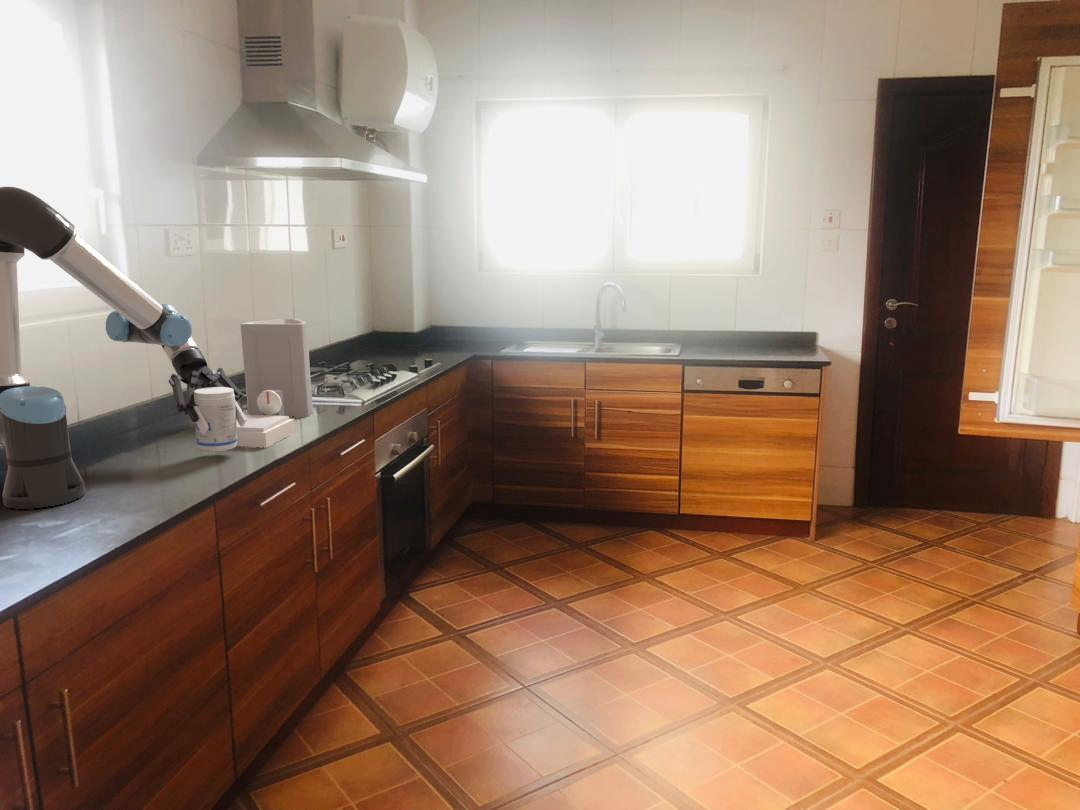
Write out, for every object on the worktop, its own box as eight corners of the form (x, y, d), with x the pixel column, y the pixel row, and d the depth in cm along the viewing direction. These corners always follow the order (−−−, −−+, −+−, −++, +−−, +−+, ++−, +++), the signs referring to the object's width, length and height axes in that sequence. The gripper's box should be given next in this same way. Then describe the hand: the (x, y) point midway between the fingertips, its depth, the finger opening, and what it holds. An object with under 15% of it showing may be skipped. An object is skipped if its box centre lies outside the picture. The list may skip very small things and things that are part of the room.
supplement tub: (188, 451, 205) (183, 392, 202) (214, 441, 214) (209, 385, 211) (221, 454, 202) (216, 394, 199) (246, 444, 211) (242, 387, 208)
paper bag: (325, 406, 265) (319, 318, 259) (307, 417, 250) (301, 324, 244) (268, 405, 267) (261, 318, 261) (247, 416, 253) (239, 324, 247)
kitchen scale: (266, 447, 216) (263, 404, 214) (210, 445, 219) (206, 402, 216) (303, 428, 236) (300, 388, 234) (251, 426, 239) (248, 387, 237)
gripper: (221, 361, 221) (259, 427, 215) (138, 372, 204) (177, 444, 198) (230, 343, 217) (270, 410, 210) (146, 352, 200) (187, 425, 193)
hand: (225, 426), depth 204 cm, fingers closed on supplement tub, 9 cm apart
